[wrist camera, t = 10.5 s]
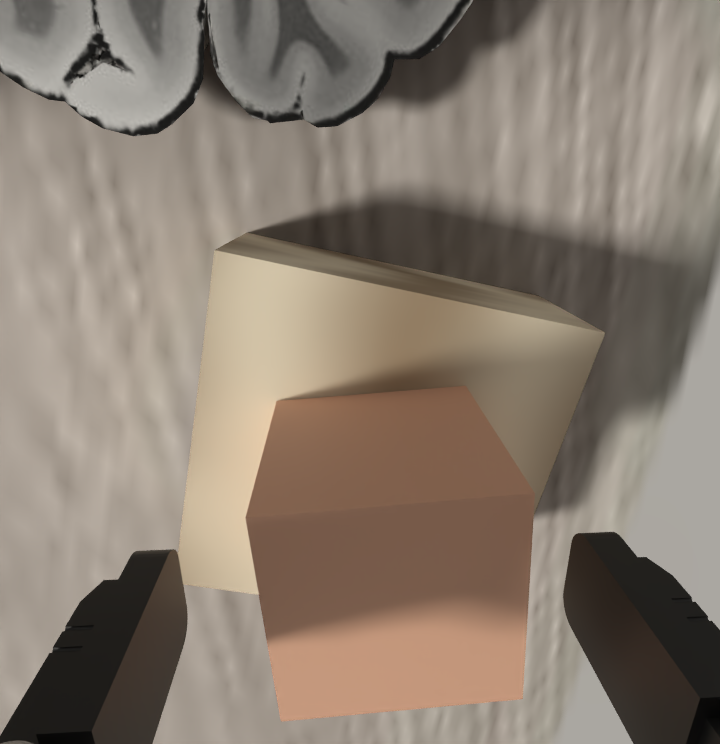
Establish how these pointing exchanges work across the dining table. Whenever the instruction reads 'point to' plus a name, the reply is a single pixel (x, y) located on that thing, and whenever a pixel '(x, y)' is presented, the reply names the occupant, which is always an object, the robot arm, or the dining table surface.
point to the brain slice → (216, 54)
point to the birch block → (359, 370)
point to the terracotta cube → (390, 554)
